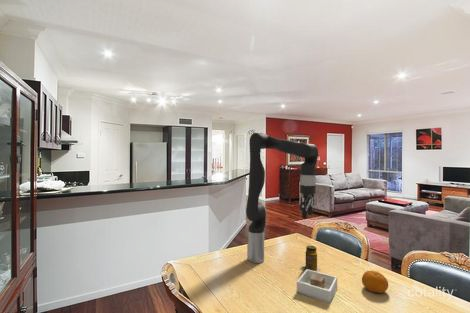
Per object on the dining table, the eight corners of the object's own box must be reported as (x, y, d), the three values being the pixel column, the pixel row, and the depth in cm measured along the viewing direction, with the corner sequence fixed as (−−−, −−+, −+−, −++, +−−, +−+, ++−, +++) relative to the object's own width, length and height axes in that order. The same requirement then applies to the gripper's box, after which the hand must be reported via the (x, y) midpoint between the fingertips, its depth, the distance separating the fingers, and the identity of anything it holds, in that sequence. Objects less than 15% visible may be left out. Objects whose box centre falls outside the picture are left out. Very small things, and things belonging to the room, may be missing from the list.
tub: (296, 292, 109) (296, 281, 109) (306, 279, 121) (306, 269, 121) (330, 303, 101) (330, 291, 101) (337, 287, 113) (337, 277, 113)
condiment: (320, 269, 131) (320, 247, 131) (310, 274, 126) (310, 251, 126) (309, 264, 137) (309, 243, 137) (299, 268, 133) (299, 246, 133)
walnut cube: (310, 289, 110) (310, 278, 110) (313, 284, 115) (313, 273, 115) (321, 292, 108) (321, 281, 108) (324, 287, 112) (324, 276, 112)
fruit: (388, 299, 104) (388, 280, 104) (361, 292, 110) (361, 274, 110) (388, 288, 113) (388, 270, 113) (362, 281, 118) (362, 265, 118)
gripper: (304, 182, 128) (304, 212, 128) (295, 184, 116) (294, 218, 116) (319, 183, 123) (319, 214, 124) (311, 186, 112) (310, 221, 112)
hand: (307, 216), depth 120 cm, fingers open, 8 cm apart
